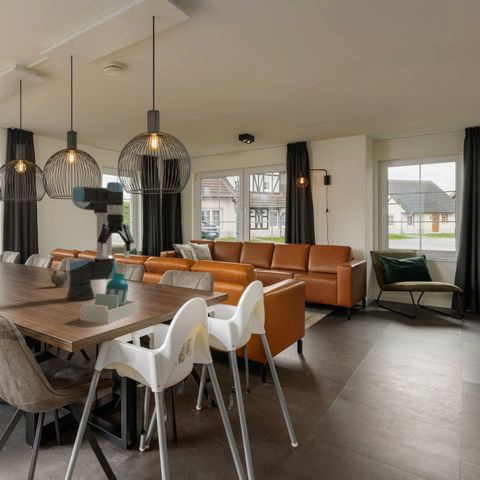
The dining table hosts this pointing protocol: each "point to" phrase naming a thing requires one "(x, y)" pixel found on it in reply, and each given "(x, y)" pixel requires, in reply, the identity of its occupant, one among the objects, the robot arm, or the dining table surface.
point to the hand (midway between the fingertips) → (115, 257)
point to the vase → (118, 288)
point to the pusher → (107, 300)
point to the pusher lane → (107, 312)
